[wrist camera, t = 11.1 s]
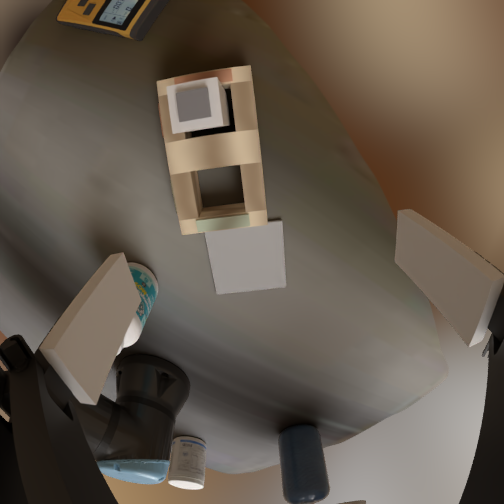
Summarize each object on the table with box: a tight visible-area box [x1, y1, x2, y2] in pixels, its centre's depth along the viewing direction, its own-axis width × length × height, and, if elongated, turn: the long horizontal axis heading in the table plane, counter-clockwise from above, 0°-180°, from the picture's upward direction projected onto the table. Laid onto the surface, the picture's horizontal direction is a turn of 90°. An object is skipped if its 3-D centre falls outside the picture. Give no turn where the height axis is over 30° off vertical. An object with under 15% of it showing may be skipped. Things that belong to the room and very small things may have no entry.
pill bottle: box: [116, 263, 158, 356], centre depth 33 cm, size 8×7×14 cm
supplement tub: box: [168, 436, 206, 489], centre depth 56 cm, size 10×10×15 cm
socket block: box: [157, 65, 268, 235], centre depth 30 cm, size 10×18×4 cm, turn 6°
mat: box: [205, 220, 286, 294], centre depth 38 cm, size 10×10×1 cm
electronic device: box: [56, 0, 169, 41], centre depth 20 cm, size 8×16×3 cm, turn 60°
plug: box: [166, 77, 231, 134], centre depth 24 cm, size 4×4×13 cm
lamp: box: [278, 424, 366, 504], centre depth 41 cm, size 25×25×43 cm
